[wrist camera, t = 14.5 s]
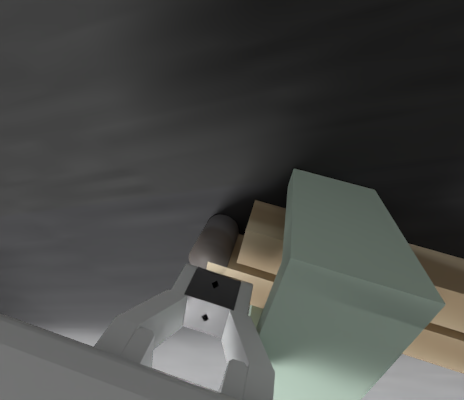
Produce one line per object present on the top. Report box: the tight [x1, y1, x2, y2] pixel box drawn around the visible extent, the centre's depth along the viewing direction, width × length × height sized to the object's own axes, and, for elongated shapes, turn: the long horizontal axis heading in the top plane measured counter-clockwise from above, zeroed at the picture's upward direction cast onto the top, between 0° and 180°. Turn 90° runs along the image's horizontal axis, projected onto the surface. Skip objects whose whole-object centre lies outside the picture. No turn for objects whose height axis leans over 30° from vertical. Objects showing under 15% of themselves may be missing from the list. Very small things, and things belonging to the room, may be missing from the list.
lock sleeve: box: [248, 168, 446, 400], centre depth 12 cm, size 8×4×7 cm, turn 169°
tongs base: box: [189, 215, 464, 374], centre depth 13 cm, size 3×27×3 cm, turn 79°
